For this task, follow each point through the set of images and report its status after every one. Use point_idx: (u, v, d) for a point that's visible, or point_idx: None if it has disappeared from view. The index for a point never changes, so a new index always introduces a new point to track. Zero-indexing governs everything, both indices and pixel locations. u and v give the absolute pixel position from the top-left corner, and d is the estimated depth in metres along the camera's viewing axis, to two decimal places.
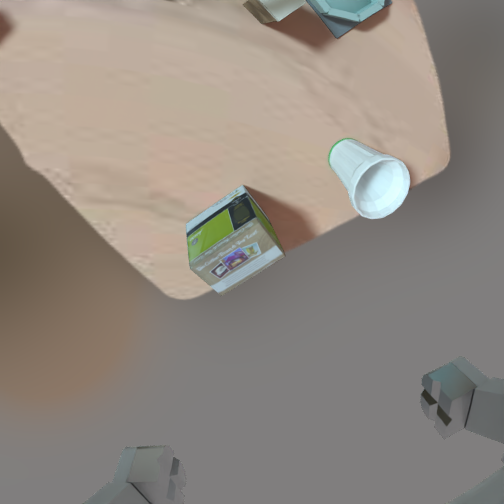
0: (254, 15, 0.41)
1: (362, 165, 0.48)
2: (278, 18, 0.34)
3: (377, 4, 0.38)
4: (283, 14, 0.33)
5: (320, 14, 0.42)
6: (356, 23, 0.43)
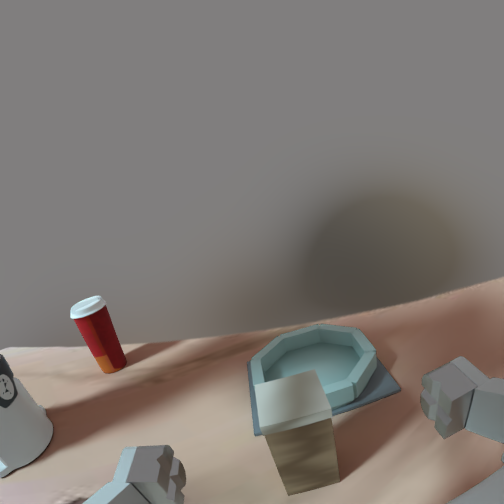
0: (317, 485, 0.22)
1: None
2: (325, 408, 0.20)
3: (353, 333, 0.41)
4: (321, 399, 0.21)
5: (356, 403, 0.32)
6: (381, 365, 0.37)
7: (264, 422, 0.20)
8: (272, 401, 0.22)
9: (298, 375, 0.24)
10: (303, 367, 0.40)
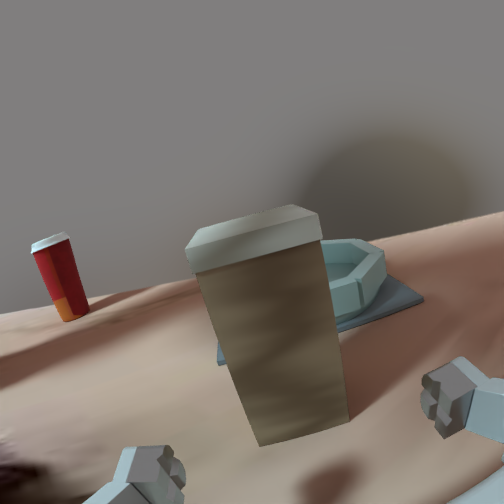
0: (310, 426, 0.14)
1: None
2: (306, 215, 0.12)
3: (352, 242, 0.33)
4: (300, 213, 0.13)
5: (364, 316, 0.24)
6: (392, 279, 0.29)
7: (196, 244, 0.12)
8: (218, 230, 0.14)
9: (266, 211, 0.16)
10: None
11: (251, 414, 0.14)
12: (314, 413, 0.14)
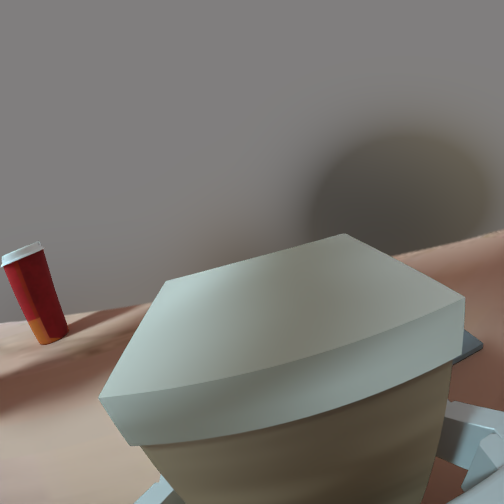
0: None
1: None
2: (437, 300, 0.04)
3: None
4: (403, 280, 0.05)
5: None
6: None
7: (130, 379, 0.04)
8: (197, 308, 0.06)
9: (297, 248, 0.08)
10: None
11: None
12: None
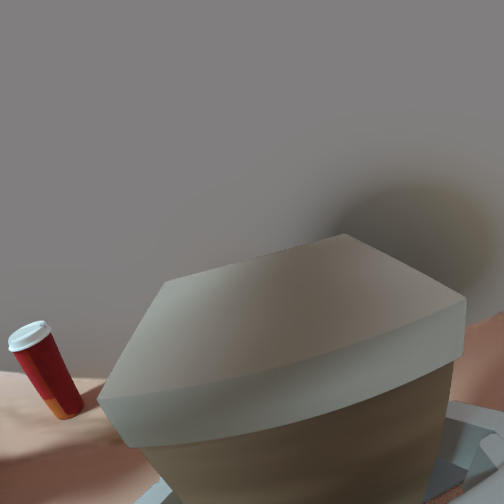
0: None
1: None
2: (438, 301, 0.04)
3: None
4: (404, 281, 0.05)
5: None
6: None
7: (129, 381, 0.04)
8: (196, 309, 0.06)
9: (297, 248, 0.08)
10: None
11: None
12: None
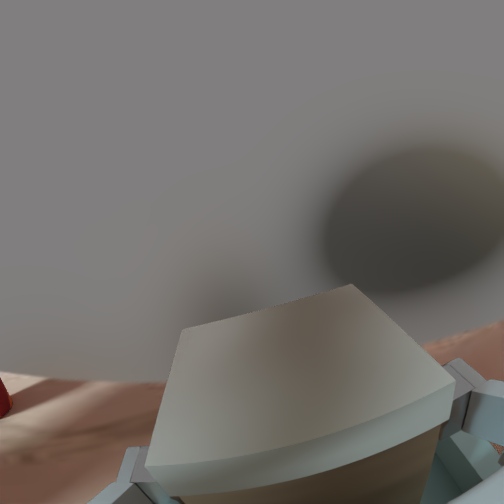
0: None
1: None
2: (431, 383, 0.04)
3: None
4: (405, 355, 0.05)
5: None
6: None
7: (170, 449, 0.04)
8: (219, 371, 0.06)
9: (307, 300, 0.09)
10: None
11: None
12: None
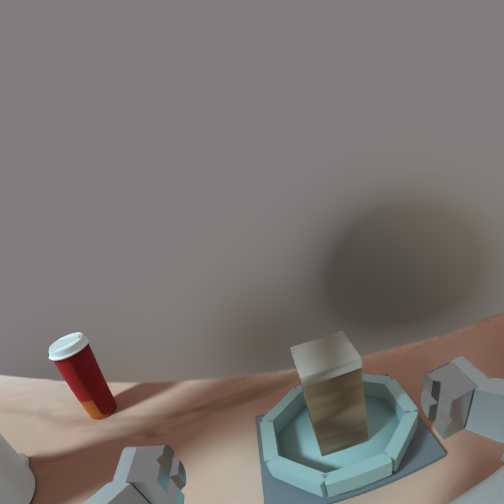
0: (348, 444, 0.25)
1: None
2: (355, 358, 0.23)
3: (388, 384, 0.30)
4: (352, 352, 0.24)
5: (393, 476, 0.21)
6: (421, 423, 0.26)
7: (304, 374, 0.24)
8: (308, 357, 0.26)
9: (328, 336, 0.28)
10: None
11: (320, 441, 0.25)
12: (351, 438, 0.25)
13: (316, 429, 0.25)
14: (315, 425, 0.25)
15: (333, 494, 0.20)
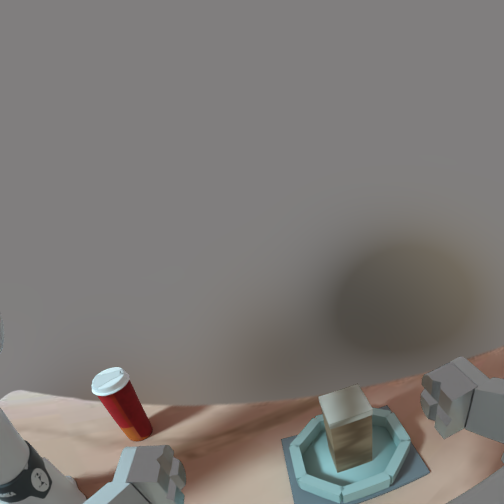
0: (357, 463, 0.32)
1: None
2: (369, 409, 0.30)
3: (388, 417, 0.37)
4: (366, 403, 0.31)
5: (390, 487, 0.28)
6: (412, 447, 0.33)
7: (332, 420, 0.30)
8: (333, 406, 0.32)
9: (347, 388, 0.34)
10: None
11: (337, 462, 0.32)
12: (360, 459, 0.32)
13: (335, 455, 0.31)
14: (335, 452, 0.31)
15: (347, 501, 0.27)
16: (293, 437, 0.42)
